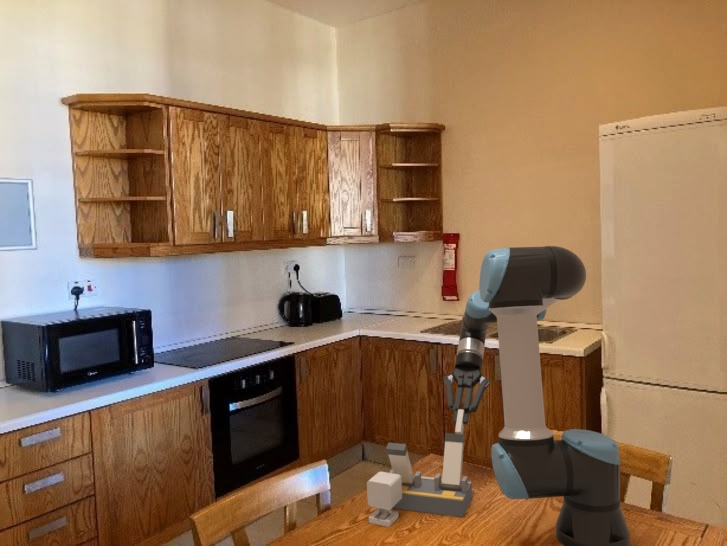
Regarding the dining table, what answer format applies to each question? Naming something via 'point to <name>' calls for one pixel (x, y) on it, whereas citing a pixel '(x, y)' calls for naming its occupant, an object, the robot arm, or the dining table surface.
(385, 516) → the security camera
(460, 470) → the lever
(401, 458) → the lever
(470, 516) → the dining table surface
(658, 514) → the dining table surface
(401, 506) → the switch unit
